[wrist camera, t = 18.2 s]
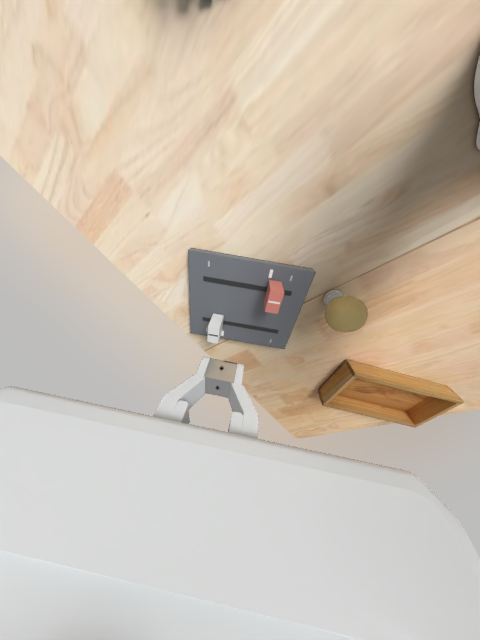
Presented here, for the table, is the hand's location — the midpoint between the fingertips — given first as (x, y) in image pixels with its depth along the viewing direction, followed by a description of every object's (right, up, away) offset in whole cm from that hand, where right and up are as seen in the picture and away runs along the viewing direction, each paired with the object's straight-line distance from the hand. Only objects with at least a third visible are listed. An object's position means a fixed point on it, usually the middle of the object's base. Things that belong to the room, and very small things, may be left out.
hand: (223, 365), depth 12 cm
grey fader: (-4, +3, +27) cm, 28 cm away
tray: (+42, -16, +39) cm, 60 cm away
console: (+2, +7, +26) cm, 28 cm away
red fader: (+8, +9, +22) cm, 25 cm away
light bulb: (+21, +8, +24) cm, 33 cm away
